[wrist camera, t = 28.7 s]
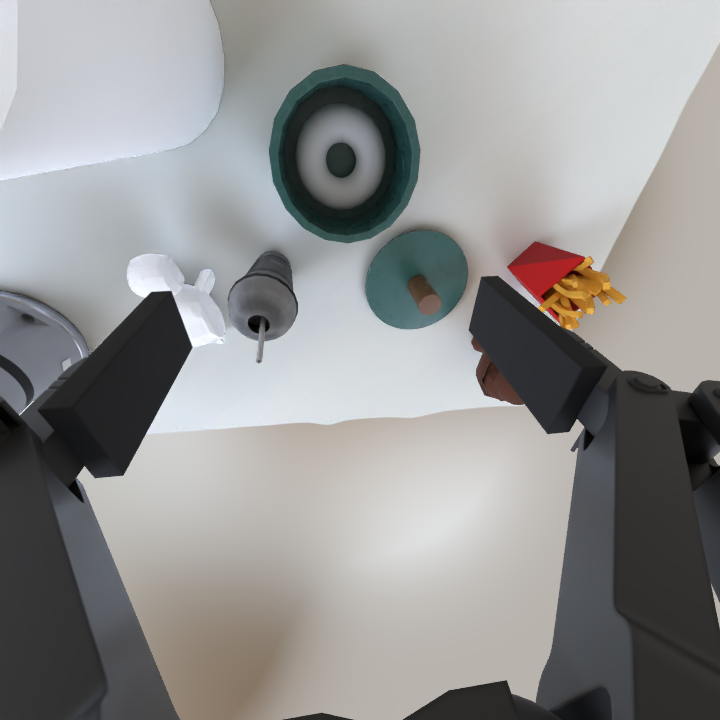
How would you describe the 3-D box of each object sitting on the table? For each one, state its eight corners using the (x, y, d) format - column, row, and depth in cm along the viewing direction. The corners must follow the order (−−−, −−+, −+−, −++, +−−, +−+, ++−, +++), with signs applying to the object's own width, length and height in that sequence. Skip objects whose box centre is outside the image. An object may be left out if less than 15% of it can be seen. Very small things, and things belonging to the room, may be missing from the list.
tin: (287, 225, 40) (282, 245, 33) (268, 75, 32) (256, 62, 25) (395, 222, 42) (411, 241, 35) (405, 78, 33) (428, 65, 26)
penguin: (235, 311, 49) (189, 226, 37) (231, 357, 45) (177, 278, 32) (179, 318, 49) (113, 234, 36) (170, 364, 45) (90, 288, 32)
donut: (310, 215, 40) (389, 196, 39) (309, 222, 37) (394, 201, 36) (283, 115, 33) (375, 92, 33) (279, 115, 31) (380, 89, 30)
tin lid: (364, 328, 51) (371, 356, 45) (365, 230, 42) (374, 248, 36) (454, 323, 52) (473, 349, 46) (474, 227, 43) (501, 243, 37)
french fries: (559, 261, 48) (641, 307, 36) (513, 300, 51) (574, 355, 39) (530, 221, 44) (612, 258, 32) (482, 267, 47) (540, 316, 35)
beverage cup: (285, 231, 41) (267, 300, 25) (310, 281, 45) (308, 367, 29) (234, 252, 41) (186, 333, 26) (263, 299, 46) (238, 393, 30)
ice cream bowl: (468, 373, 59) (507, 436, 47) (448, 330, 53) (487, 390, 41) (523, 346, 57) (579, 405, 45) (509, 298, 51) (570, 352, 39)
